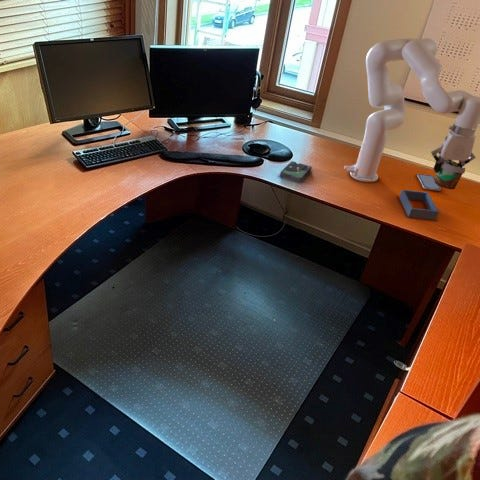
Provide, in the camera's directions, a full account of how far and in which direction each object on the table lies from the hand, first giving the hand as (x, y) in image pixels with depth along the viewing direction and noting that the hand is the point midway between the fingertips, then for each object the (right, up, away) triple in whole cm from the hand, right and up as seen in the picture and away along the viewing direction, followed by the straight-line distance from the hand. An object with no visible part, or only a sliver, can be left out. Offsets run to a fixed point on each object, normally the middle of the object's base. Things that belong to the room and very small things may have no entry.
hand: (445, 172), depth 188 cm
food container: (0, -4, +3) cm, 6 cm away
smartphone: (+10, -1, +30) cm, 32 cm away
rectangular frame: (-6, -14, +11) cm, 18 cm away
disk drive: (-51, +4, +34) cm, 61 cm away
